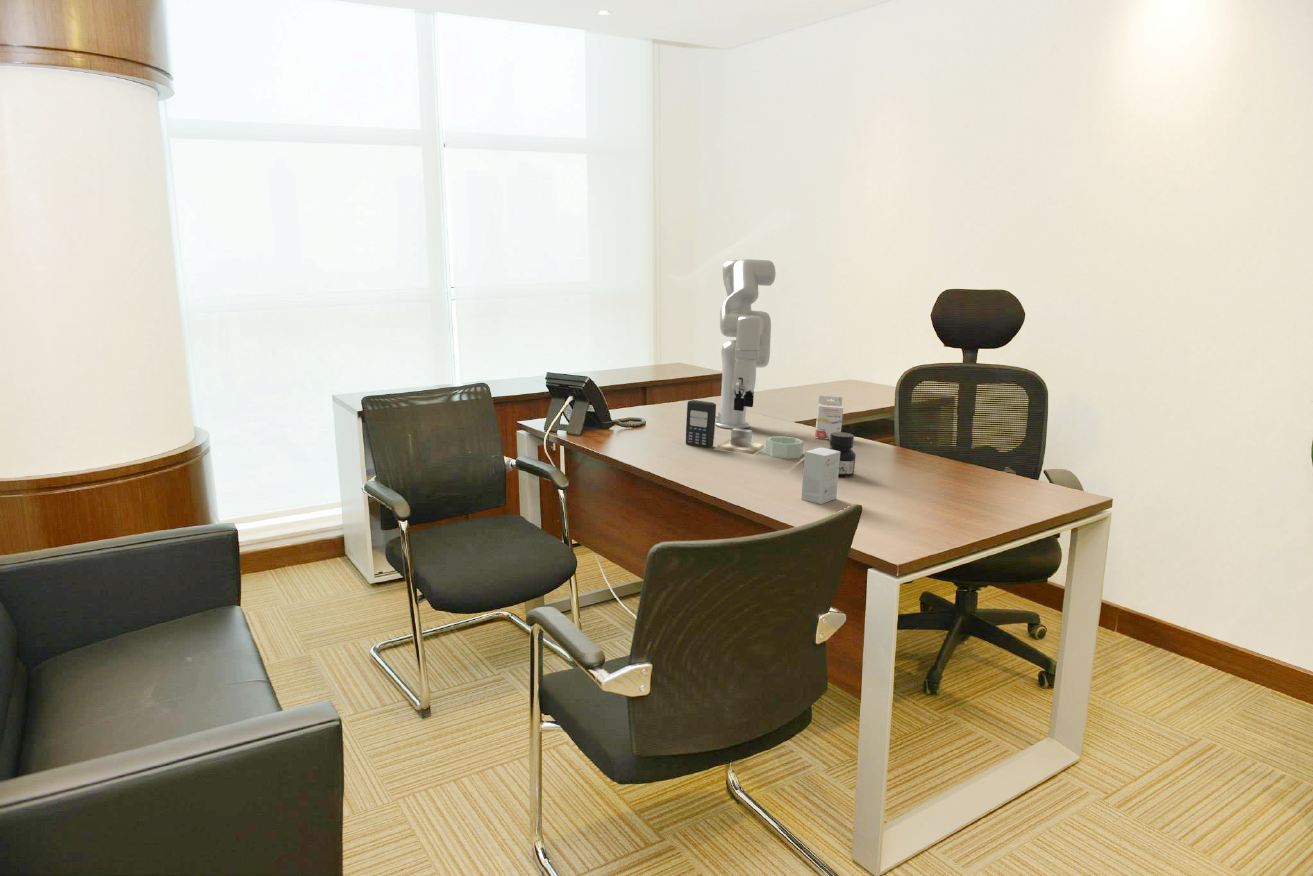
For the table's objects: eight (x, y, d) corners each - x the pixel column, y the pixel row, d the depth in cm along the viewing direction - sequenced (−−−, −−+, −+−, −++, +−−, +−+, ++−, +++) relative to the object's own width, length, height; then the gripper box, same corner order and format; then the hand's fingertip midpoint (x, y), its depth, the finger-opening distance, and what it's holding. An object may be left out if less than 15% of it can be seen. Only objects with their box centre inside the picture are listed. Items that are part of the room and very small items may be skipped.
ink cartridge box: (815, 438, 302) (819, 397, 299) (814, 435, 307) (818, 395, 304) (840, 440, 301) (844, 399, 298) (839, 437, 306) (842, 396, 303)
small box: (815, 493, 231) (820, 446, 228) (836, 498, 227) (841, 451, 225) (800, 499, 225) (804, 451, 222) (821, 504, 221) (826, 455, 218)
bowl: (762, 456, 271) (763, 441, 270) (771, 449, 281) (772, 435, 280) (796, 461, 267) (797, 445, 266) (804, 454, 277) (806, 439, 276)
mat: (712, 450, 276) (713, 449, 276) (727, 442, 289) (727, 441, 288) (754, 456, 271) (754, 455, 270) (767, 448, 283) (767, 446, 283)
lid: (717, 449, 276) (718, 430, 275) (729, 442, 287) (730, 424, 286) (752, 454, 272) (754, 435, 271) (763, 447, 283) (764, 429, 281)
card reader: (683, 445, 281) (685, 400, 278) (688, 443, 285) (691, 399, 282) (709, 449, 277) (711, 404, 274) (714, 447, 281) (716, 402, 277)
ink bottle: (819, 475, 251) (823, 435, 249) (824, 468, 259) (828, 430, 257) (853, 479, 248) (857, 439, 245) (857, 473, 256) (861, 433, 254)
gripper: (743, 352, 282) (740, 404, 285) (726, 356, 267) (723, 410, 270) (766, 354, 279) (762, 406, 283) (750, 358, 264) (746, 413, 267)
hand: (743, 408), depth 276 cm, fingers open, 9 cm apart
